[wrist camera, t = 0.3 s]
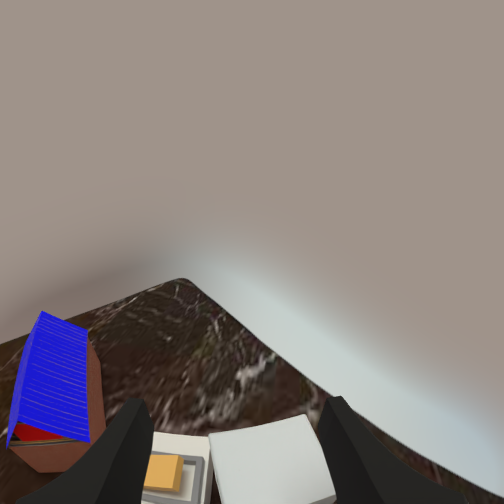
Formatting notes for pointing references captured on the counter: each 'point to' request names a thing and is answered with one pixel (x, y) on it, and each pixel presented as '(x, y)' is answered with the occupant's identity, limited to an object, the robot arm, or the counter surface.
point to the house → (56, 397)
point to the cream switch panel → (184, 470)
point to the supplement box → (271, 464)
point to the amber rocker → (164, 473)
